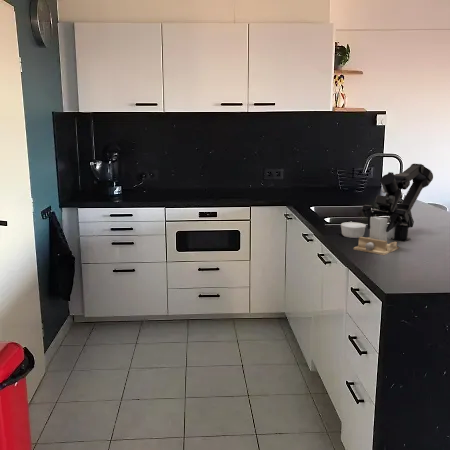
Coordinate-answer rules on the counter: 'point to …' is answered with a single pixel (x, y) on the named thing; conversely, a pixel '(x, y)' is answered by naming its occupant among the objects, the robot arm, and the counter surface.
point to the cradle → (375, 246)
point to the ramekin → (353, 229)
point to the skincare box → (378, 228)
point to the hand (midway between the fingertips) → (377, 230)
